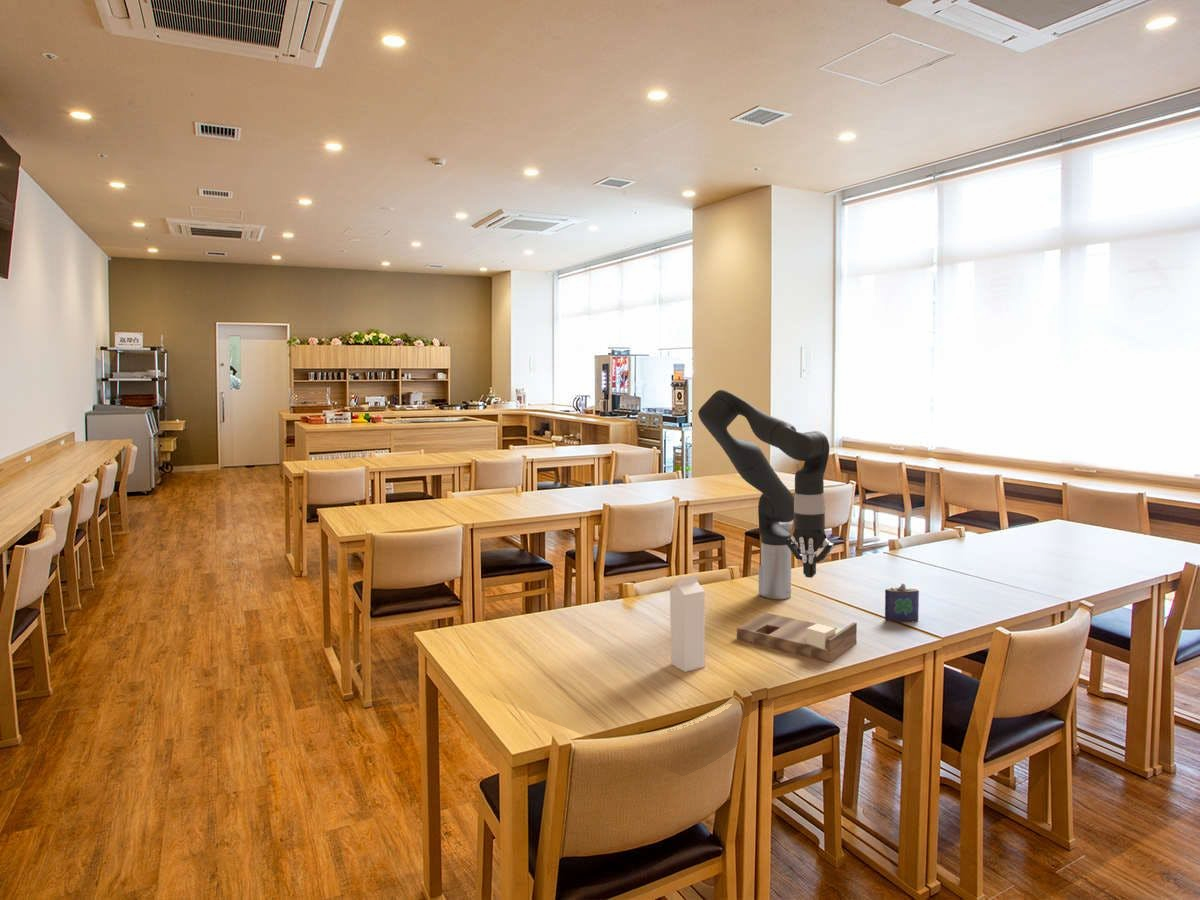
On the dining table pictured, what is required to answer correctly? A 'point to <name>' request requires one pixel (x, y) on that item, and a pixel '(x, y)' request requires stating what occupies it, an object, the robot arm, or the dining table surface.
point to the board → (795, 636)
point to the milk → (687, 624)
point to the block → (819, 635)
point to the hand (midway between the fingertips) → (809, 576)
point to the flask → (901, 604)
